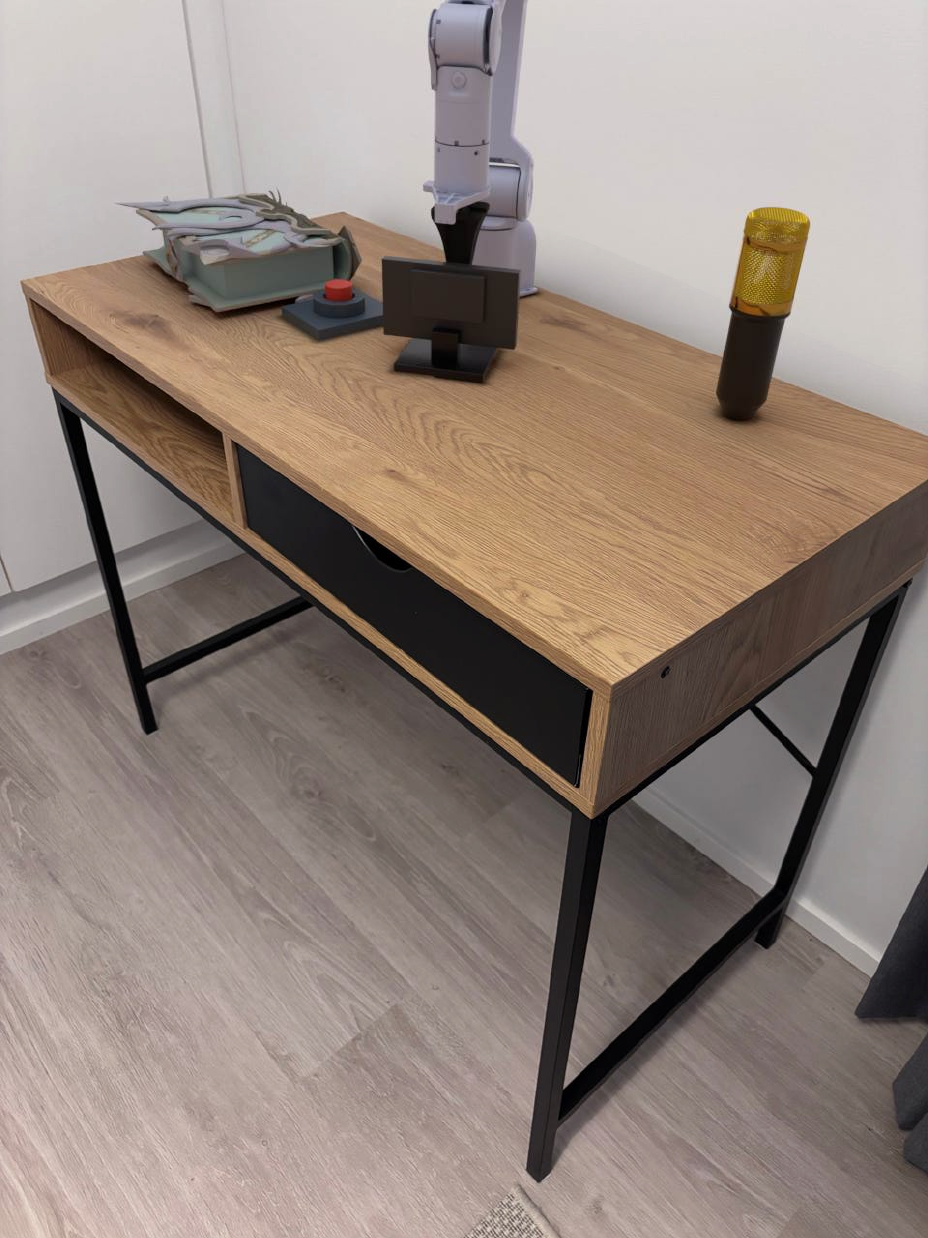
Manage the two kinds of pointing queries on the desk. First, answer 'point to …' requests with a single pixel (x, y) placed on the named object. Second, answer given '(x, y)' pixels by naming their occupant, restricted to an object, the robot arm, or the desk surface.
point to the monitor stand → (446, 357)
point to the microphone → (760, 306)
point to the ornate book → (247, 249)
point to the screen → (451, 300)
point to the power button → (338, 290)
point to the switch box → (335, 314)
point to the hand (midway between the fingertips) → (459, 273)
